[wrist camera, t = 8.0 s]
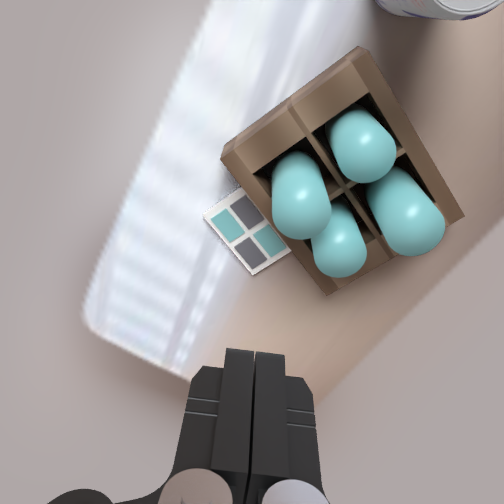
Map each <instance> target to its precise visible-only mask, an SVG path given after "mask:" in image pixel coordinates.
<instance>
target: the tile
mask: <svg viewBox="0 0 504 504" xmlns="http://www.w3.org/2000/svg"><path fill="white" fill-rule="evenodd" d="M203 217H204V218H205V219H206V220H207V222H208V223H209V224H210V225H211V226H212V227H213V229H214V230H215V231H216V232H217V233H218V235H219V236H220V237H221V238H222V239H223V241H224V242H225V243H226V244H227V245H228V247H229V248H230V249H231V250H232V251H233V252H234V254H235V255H236V256H237V257H238V258H239V260H240V261H241V262H242V263H243V264H244V266H245V267H246V268H247V269H248V270H249V271H250V273H251V274H252V275H254V274H256V273H257V272H259V271H261V270H262V269H264V268H265V267H267V266H269V265H270V264H272V263H273V262H275V261H277V260H278V259H280V258H281V257H283V256H285V255H286V254H288V253H289V252H291V250H290V248H289V247H288V246H287V244H286V243H285V242H284V241H283V239H282V238H281V237H280V236H279V234H278V233H277V232H276V230H275V229H274V228H273V227H272V225H271V224H270V223H269V221H268V220H267V219H266V218H265V216H264V215H263V214H262V212H261V211H260V210H259V209H258V207H257V206H256V205H255V204H254V202H253V201H252V200H251V198H250V197H249V196H248V195H247V193H246V192H245V191H244V189H243V188H242V187H240V188H238V189H237V190H235V191H234V192H233V193H231V194H230V195H228V196H227V197H225V198H224V199H223V200H221V201H220V202H218V203H217V204H215V205H214V206H213V207H211V208H210V209H208V210H207V211H205V212H204V213H203Z"/></svg>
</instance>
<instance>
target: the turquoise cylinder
mask: <svg viewBox="0 0 504 504" xmlns="http://www.w3.org/2000/svg"><path fill="white" fill-rule="evenodd" d="M364 195H365V198H366V201H367V203H368V205H369V207H370V209H371V211H372V213H373V215H374V217H375V219H376V221H377V223H378V225H379V227H380V229H381V231H382V233H383V235H384V237H385V239H386V241H387V243H388V245H389V246H390V247H391V248H392V249H393V250H394V251H395V252H397V253H399V254H401V255H405V256H418V255H422V254H424V253H427V252H429V251H430V250H432V249H433V248H434V247H435V246H436V245H437V244H438V243H439V242H440V240H441V239H442V237H443V235H444V231H445V220H444V217H443V215H442V214H441V212H440V211H439V210H438V209H437V207H436V206H435V205H434V204H433V203H432V201H431V200H430V199H429V198H428V196H427V195H426V194H425V193H424V192H423V190H422V189H421V188H420V187H419V186H418V184H417V183H416V182H415V181H414V180H413V178H412V177H411V176H410V175H409V173H408V172H407V171H406V170H404V169H403V168H401V167H398V166H392V168H391V169H390V170H389V172H388V173H387V174H386V175H385V176H383V177H382V178H380V179H378V180H376V181H373V182H369V183H365V186H364Z"/></svg>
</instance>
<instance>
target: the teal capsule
mask: <svg viewBox="0 0 504 504" xmlns="http://www.w3.org/2000/svg"><path fill="white" fill-rule="evenodd" d="M325 133H326V137H327V139H328V142H329V144H330V146H331V149H332V151H333V153H334V156H335V158H336V160H337V163H338V165H339V167H340V169H341V171H342V173H343V174H344V175H345V176H346V177H347V178H349V179H350V180H352V181H355V182H359V183H369V182H373V181H376V180H378V179H380V178H382V177H383V176H385V175H386V174H387V173H388V172H389V170H390V169H391V168H392V166H393V164H394V162H395V158H396V145H395V142H394V140H393V138H392V137H391V135H390V134H389V133H388V132H387V131H386V130H385V129H384V128H383V127H382V126H381V124H380V123H379V122H378V121H377V120H376V119H375V118H374V117H373V116H372V115H371V114H370V113H369V112H368V111H367V109H365V108H364V107H363V106H361V105H358V104H354V103H352V104H351V105H349V106H348V107H347V108H345V109H344V110H342V111H341V112H340V113H338V114H337V115H335V116H334V117H332V118H331V119H330V120H328V121H327V122H326V125H325Z"/></svg>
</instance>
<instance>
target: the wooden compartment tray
mask: <svg viewBox="0 0 504 504" xmlns="http://www.w3.org/2000/svg"><path fill="white" fill-rule="evenodd" d="M365 94H366V95H367V96H368V98H369V100H370V101H371V103H372V105H373V106H374V108H375V110H376V111H377V113H378V115H379V116H380V118H381V119H382V121H383V123H384V124H385V126H386V128H387V129H388V131H389V133H390V135H391V137H392V138H393V140H394V142H395V145H396V158H398V157H399V156H401V155H402V154H403V156H404V157H405V159H406V161H407V162H408V164H409V165H410V167H411V169H412V170H413V172H414V174H415V175H416V177H417V179H418V180H419V182H420V185H419V187H420V188H421V189H422V190H423V192H424V193H425V194H426V195H427V196H428V198H429V199H430V200H431V201H432V203H433V204H434V205H435V206H436V207H437V209H438V210H439V211H440V212H441V214H442V215H443V217H444V220H445V227H447V226H449V225H451V224H452V223H454V222H456V221H458V220H459V219H461V218H463V217H464V216H465V215H464V214H463V212H462V210H461V209H460V207H459V205H458V203H457V202H456V200H455V198H454V197H453V195H452V193H451V191H450V190H449V188H448V186H447V185H446V183H445V181H444V179H443V178H442V176H441V174H440V173H439V171H438V169H437V167H436V166H435V164H434V162H433V161H432V159H431V157H430V156H429V154H428V152H427V150H426V149H425V147H424V145H423V144H422V142H421V140H420V138H419V137H418V135H417V133H416V132H415V130H414V128H413V126H412V125H411V123H410V121H409V120H408V118H407V116H406V114H405V113H404V111H403V109H402V108H401V106H400V104H399V102H398V101H397V99H396V97H395V96H394V94H393V92H392V90H391V89H390V87H389V85H388V84H387V82H386V80H385V78H384V77H383V75H382V73H381V72H380V70H379V68H378V67H377V65H376V63H375V61H374V60H373V58H372V56H371V55H370V53H369V51H368V50H366V49H363V48H361V47H359V46H357V47H356V48H355V49H353V50H352V51H350V52H349V53H348V54H346V55H345V56H344V57H342V58H341V59H340V60H338V61H337V62H336V63H334V64H333V65H332V66H330V67H329V68H328V69H326V70H325V71H323V72H322V73H321V74H319V75H318V76H317V77H315V78H314V79H313V80H311V81H310V82H309V83H307V84H306V85H305V86H303V87H302V88H301V89H299V90H298V91H296V92H295V93H294V94H292V95H291V96H290V97H288V98H287V99H286V100H284V101H283V102H282V103H280V104H279V105H278V106H276V107H275V108H274V109H272V110H271V111H270V112H268V113H267V114H265V115H264V116H263V117H261V118H260V119H259V120H257V121H256V122H255V123H253V124H252V125H251V126H249V127H248V128H247V129H245V130H244V131H243V132H241V133H240V134H238V135H237V136H236V137H234V138H233V139H232V140H230V141H229V142H228V143H226V144H225V145H224V148H223V152H222V155H221V158H220V160H221V161H222V163H223V164H224V165H225V166H226V168H227V169H228V170H229V171H230V173H231V174H232V175H233V177H234V178H235V179H236V180H237V182H238V183H239V184H240V186H241V187H242V188H243V189H244V191H245V192H246V193H247V195H248V196H249V197H250V198H251V200H252V201H253V202H254V204H255V205H256V206H257V207H258V209H259V210H260V211H261V212H262V214H263V215H264V216H265V218H266V219H267V220H268V221H269V223H270V224H271V225H272V227H273V228H274V229H275V230H276V232H277V233H278V234H279V236H280V237H281V238H282V239H283V241H284V242H285V243H286V244H287V246H288V247H289V248H290V250H291V251H292V252H293V253H294V255H295V256H296V257H297V259H298V260H299V261H300V262H301V264H302V265H303V266H304V268H305V269H306V270H307V271H308V273H309V274H310V275H311V277H312V278H313V279H314V280H315V282H316V283H317V284H318V285H319V287H320V288H321V289H322V291H323V292H324V293H325V294H326V296H327V295H329V294H331V293H333V292H334V291H336V290H338V289H339V288H341V287H343V286H345V285H346V284H348V283H350V282H352V281H353V280H355V279H357V278H359V277H360V276H362V275H364V274H366V273H367V272H369V271H371V270H372V269H374V268H376V267H378V266H379V265H381V264H383V263H385V262H386V261H388V260H390V259H392V258H393V257H395V256H397V255H398V254H399V253H397V252H395V251H394V250H393V249H392V248H391V247H390V246H389V245H388V243H387V241H386V239H385V237H384V235H383V233H382V231H381V229H380V227H379V225H378V223H377V221H376V219H375V217H374V215H373V214H372V215H370V213H369V212H368V210H367V209H366V208H365V206H364V205H363V203H362V202H361V200H360V199H359V197H358V196H357V194H356V193H355V191H354V190H353V188H352V186H354V185H356V184H357V183H359V182H355V181H352V180H350V179H349V178H347V177H346V176H345V175H344V174H343V173H342V171H341V169H340V167H339V168H338V166H337V165H336V163H335V162H334V160H333V159H332V157H331V156H330V154H329V153H328V151H327V150H326V148H325V147H324V145H323V144H322V142H321V141H320V139H319V138H318V137H317V135H316V134H315V132H314V130H315V129H317V128H318V127H320V126H321V125H322V124H324V123H325V122H327V121H328V120H330V119H331V118H332V117H334V116H335V115H337V114H338V113H340V112H341V111H342V110H344V109H345V108H347V107H348V106H349V105H351V104H352V103H354V102H355V101H357V100H358V99H359V98H361V97H362V96H364V95H365ZM305 136H306V137H307V139H308V140H309V142H310V143H311V145H312V146H313V148H314V149H315V150H316V152H317V153H318V155H319V156H320V158H321V159H322V161H323V162H324V164H325V165H326V167H327V168H328V169H329V171H330V172H331V173H330V174H329V175H327V176H326V177H324V178H323V181H324V185H325V188H326V191H327V195H328V198H329V201H331V200H332V199H334V198H335V197H337V196H339V195H340V194H342V193H343V192H344V193H345V194H346V196H347V197H348V199H349V200H350V201H351V203H352V204H353V206H354V207H355V209H356V210H357V212H358V213H359V215H360V216H361V218H362V219H363V220H362V221H360V222H359V223H357V226H358V228H359V231H360V233H361V236H362V238H363V241H364V243H365V246H366V249H367V257H366V260H365V263H364V264H363V266H362V267H361V268H360V269H359V270H358V271H357V272H356V273H354V274H352V275H350V276H347V277H342V278H335V277H330V276H328V275H326V274H324V273H322V272H321V271H320V270H319V269H318V267H317V266H316V264H315V260H314V255H313V249H312V243H311V238H309V239H304V240H298V239H292V238H289V237H287V236H285V235H284V234H282V233H281V232H280V231H279V230H278V229H277V227H276V226H275V224H274V221H273V217H272V182H271V181H270V179H269V178H268V177H267V175H266V174H265V173H264V171H263V170H262V169H261V167H263V166H264V165H266V164H267V163H268V162H270V161H271V160H273V159H274V158H276V157H277V156H278V155H280V154H281V153H283V152H284V151H285V150H287V149H288V148H290V147H291V146H293V145H294V144H295V143H297V142H298V141H300V140H301V139H303V138H304V137H305ZM396 158H395V159H396Z"/></svg>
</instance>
